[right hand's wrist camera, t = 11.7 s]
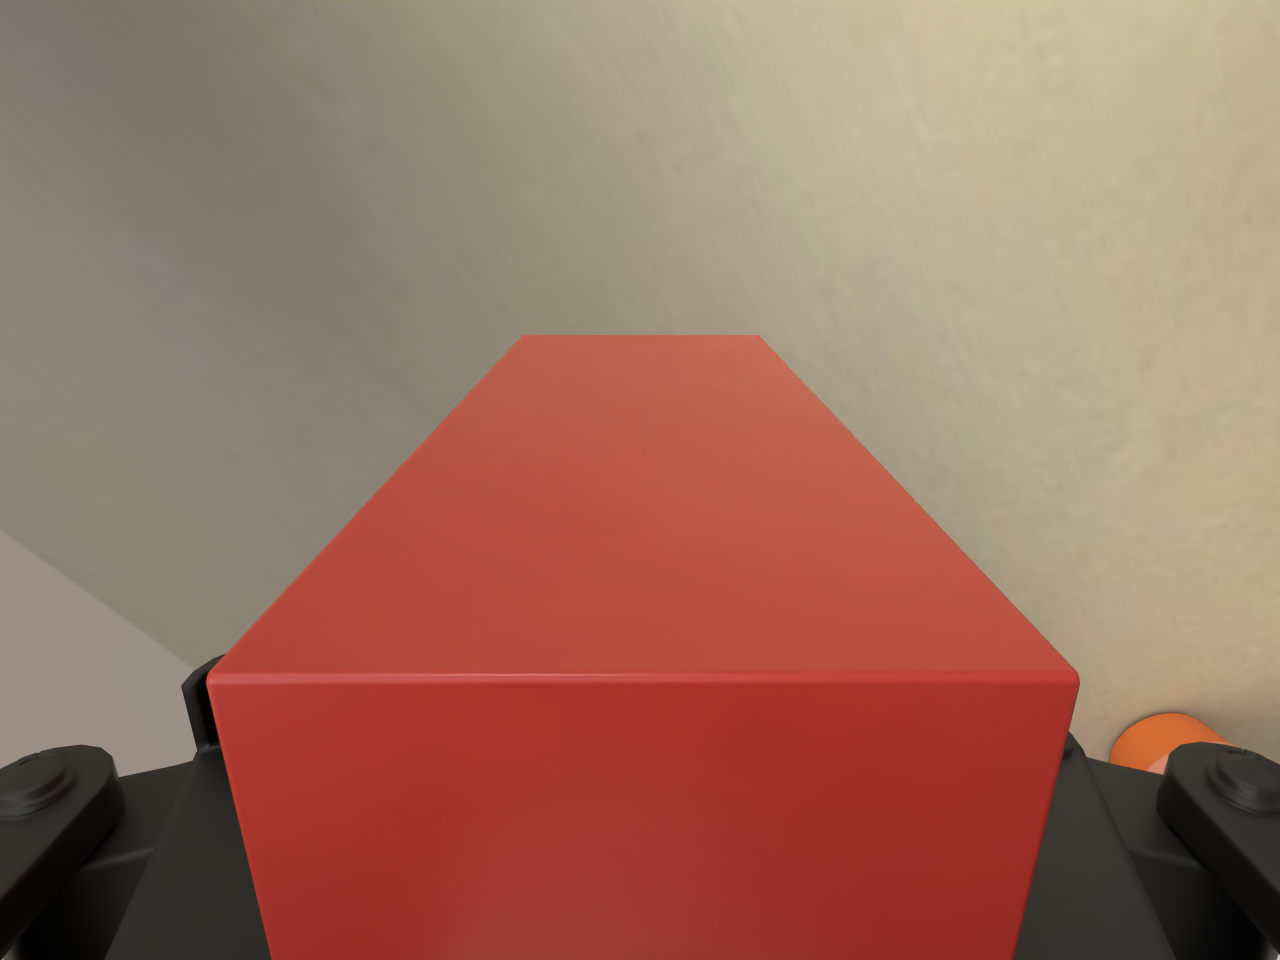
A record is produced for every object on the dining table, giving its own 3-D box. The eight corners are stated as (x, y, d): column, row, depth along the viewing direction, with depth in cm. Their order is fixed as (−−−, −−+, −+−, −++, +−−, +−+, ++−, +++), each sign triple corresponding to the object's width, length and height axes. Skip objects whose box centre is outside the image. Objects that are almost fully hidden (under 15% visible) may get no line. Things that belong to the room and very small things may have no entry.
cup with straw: (1212, 810, 47) (1528, 1144, 30) (1069, 810, 47) (1307, 1143, 30) (1253, 691, 44) (1631, 988, 27) (1101, 690, 44) (1385, 987, 27)
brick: (538, 651, 18) (370, 1387, 7) (521, 334, 15) (199, 676, 4) (742, 651, 18) (913, 1388, 7) (760, 334, 15) (1088, 676, 4)
